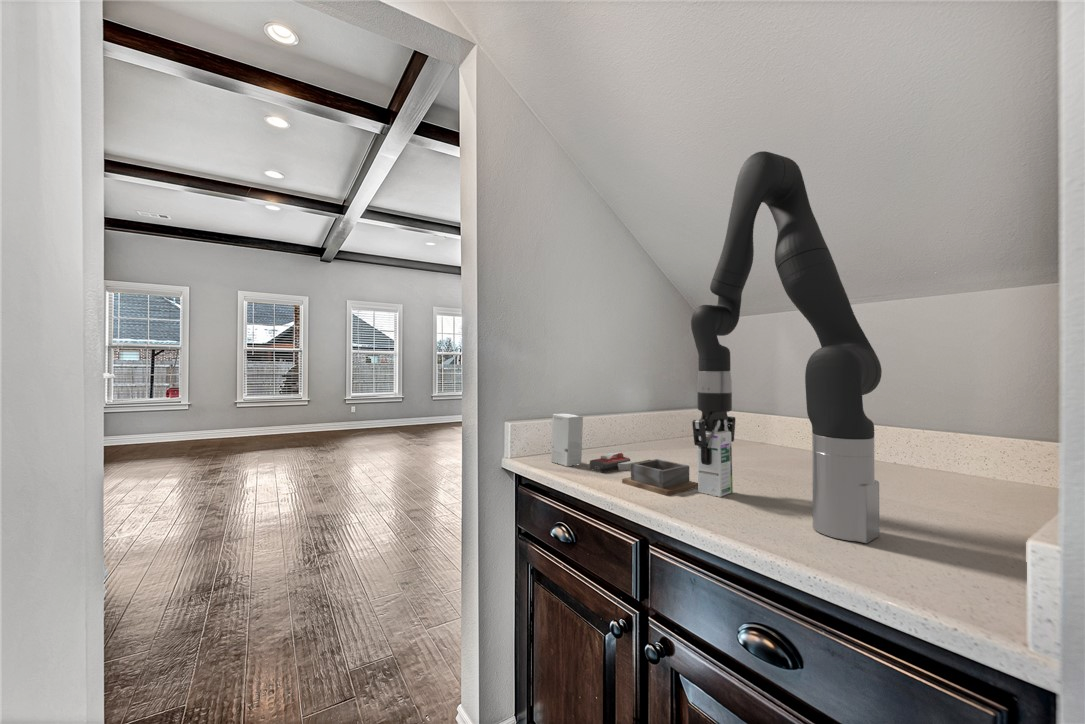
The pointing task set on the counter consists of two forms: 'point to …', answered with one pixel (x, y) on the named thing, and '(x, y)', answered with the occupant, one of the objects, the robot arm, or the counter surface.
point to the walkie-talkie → (612, 463)
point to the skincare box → (566, 439)
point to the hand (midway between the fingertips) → (714, 462)
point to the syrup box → (716, 466)
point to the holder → (660, 477)
